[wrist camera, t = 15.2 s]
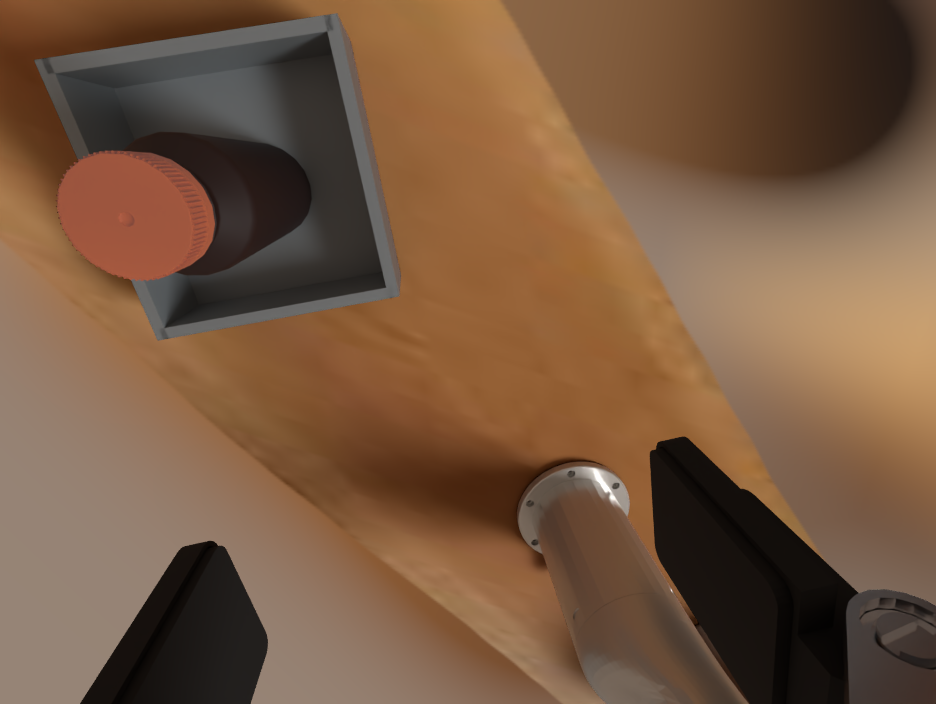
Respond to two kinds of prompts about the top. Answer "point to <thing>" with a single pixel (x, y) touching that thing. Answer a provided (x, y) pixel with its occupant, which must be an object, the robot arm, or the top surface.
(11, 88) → the top surface
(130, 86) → the tote
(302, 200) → the vinegar
